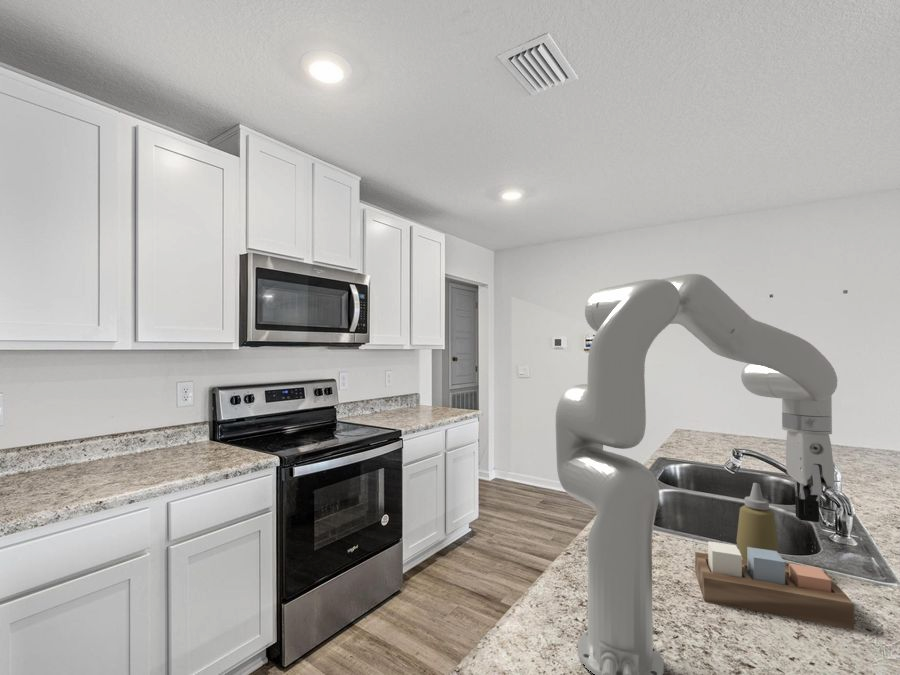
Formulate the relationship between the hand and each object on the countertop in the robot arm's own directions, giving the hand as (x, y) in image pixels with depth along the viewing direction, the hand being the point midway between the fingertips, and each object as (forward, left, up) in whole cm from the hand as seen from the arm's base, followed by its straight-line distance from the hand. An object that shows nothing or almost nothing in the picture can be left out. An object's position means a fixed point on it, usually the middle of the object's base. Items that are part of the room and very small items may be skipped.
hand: (807, 519), depth 85 cm
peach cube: (0, 0, -15) cm, 15 cm away
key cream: (0, +14, -13) cm, 19 cm away
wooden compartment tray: (0, +7, -16) cm, 18 cm away
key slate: (0, +7, -13) cm, 15 cm away
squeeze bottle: (+17, +4, -17) cm, 24 cm away
